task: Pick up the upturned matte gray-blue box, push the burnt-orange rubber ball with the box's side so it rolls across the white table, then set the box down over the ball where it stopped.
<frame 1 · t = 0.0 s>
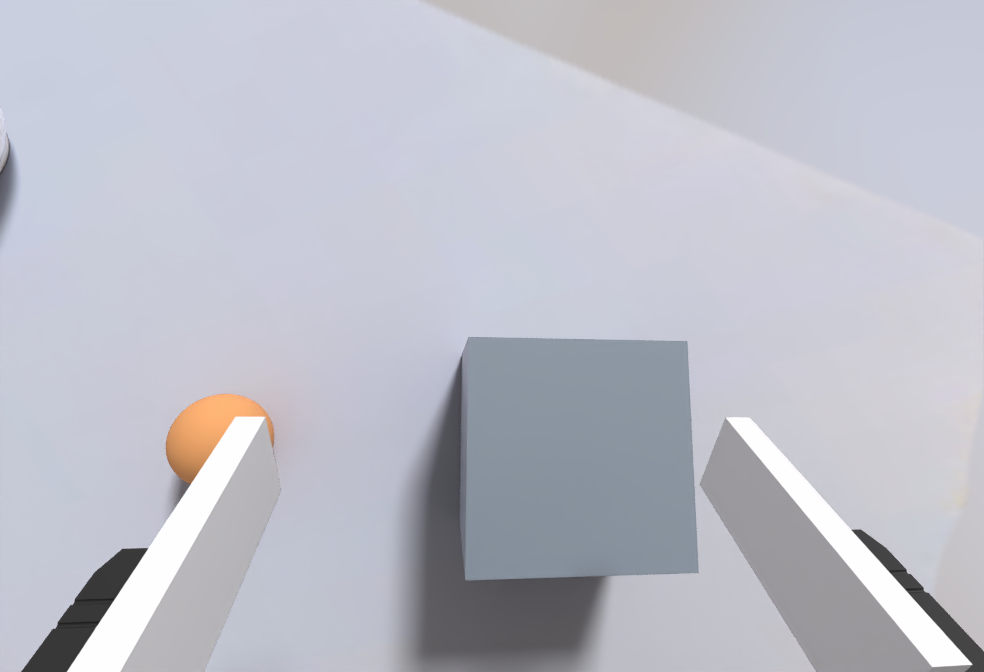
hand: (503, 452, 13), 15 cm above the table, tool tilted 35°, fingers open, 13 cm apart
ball: (222, 440, 24), on the table
matte gray-blue box: (541, 435, 29), on the table
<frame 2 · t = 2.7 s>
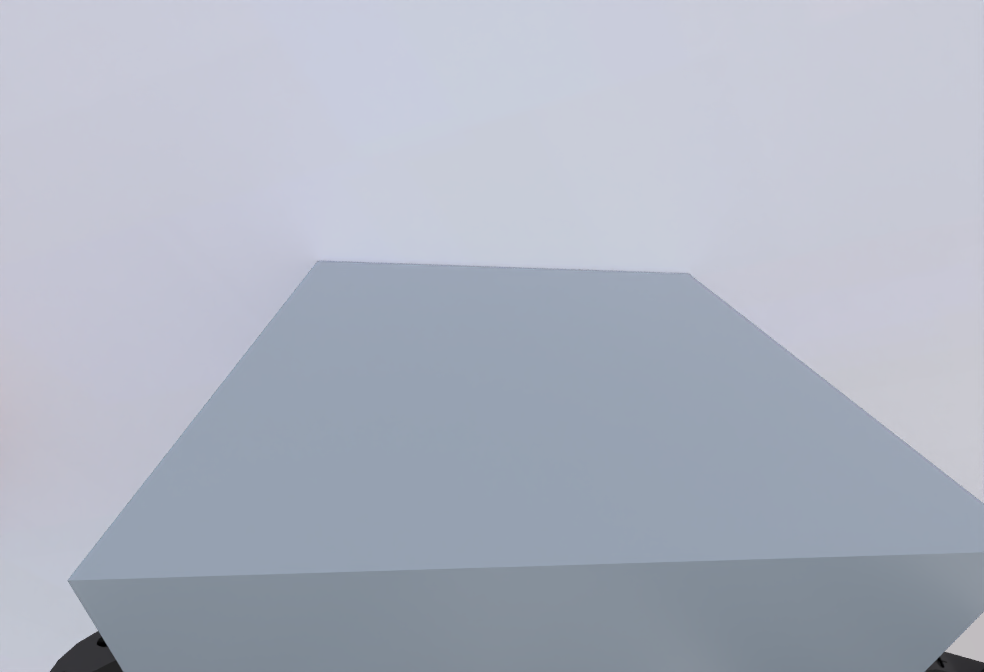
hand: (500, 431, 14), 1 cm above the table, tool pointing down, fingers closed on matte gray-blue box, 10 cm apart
matte gray-blue box: (497, 416, 15), on the table, touching gripper
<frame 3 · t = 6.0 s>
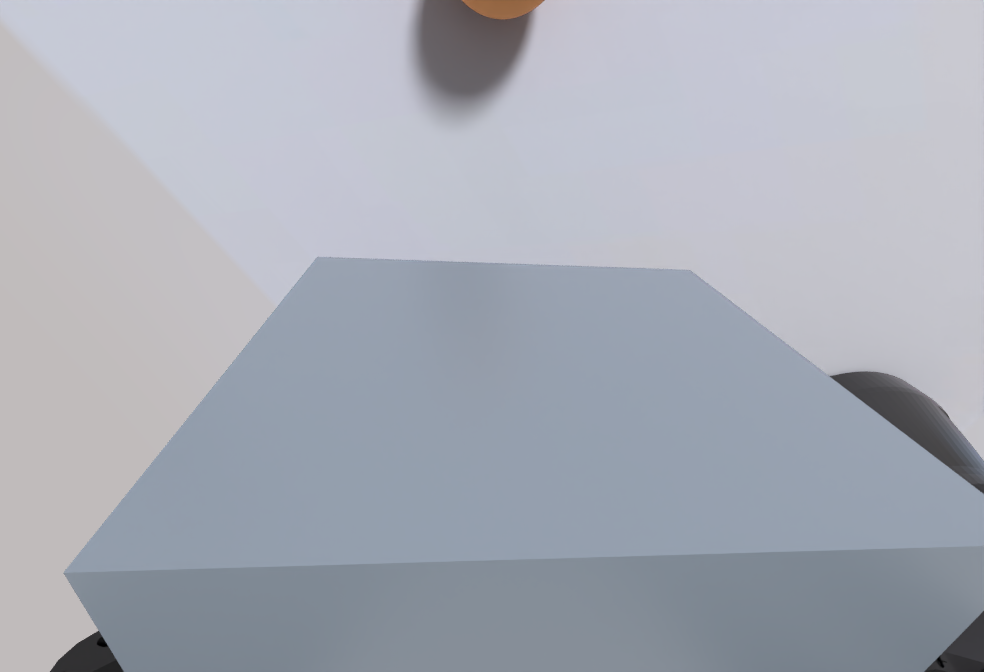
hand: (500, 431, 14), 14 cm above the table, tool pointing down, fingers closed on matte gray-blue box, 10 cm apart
matte gray-blue box: (498, 413, 15), point 13 cm above the table, touching gripper
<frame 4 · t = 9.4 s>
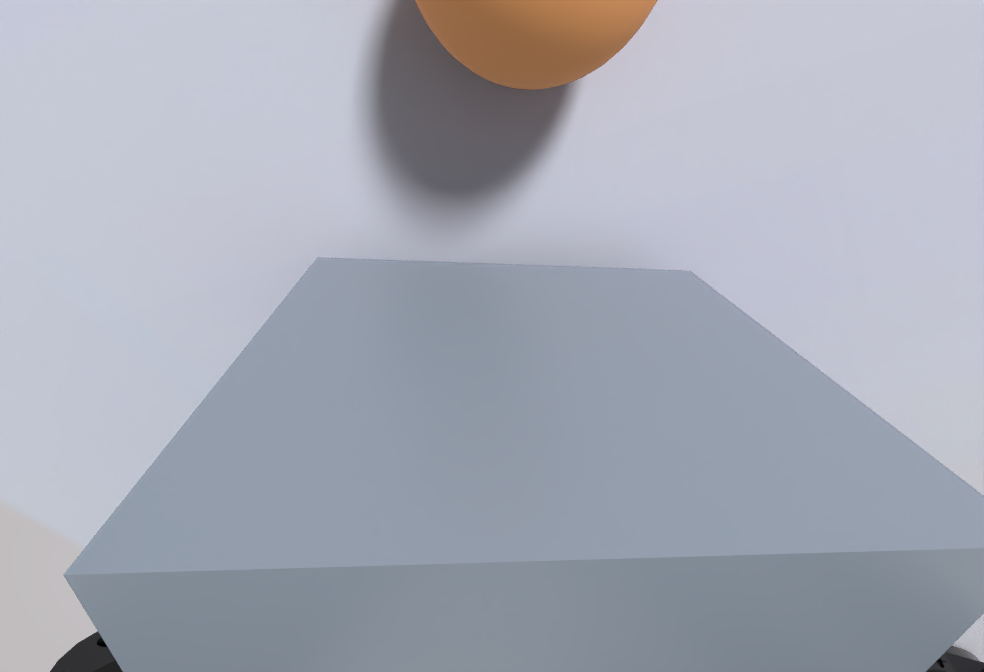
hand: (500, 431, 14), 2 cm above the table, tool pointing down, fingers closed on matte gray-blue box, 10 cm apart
matte gray-blue box: (498, 413, 15), point 1 cm above the table, touching gripper
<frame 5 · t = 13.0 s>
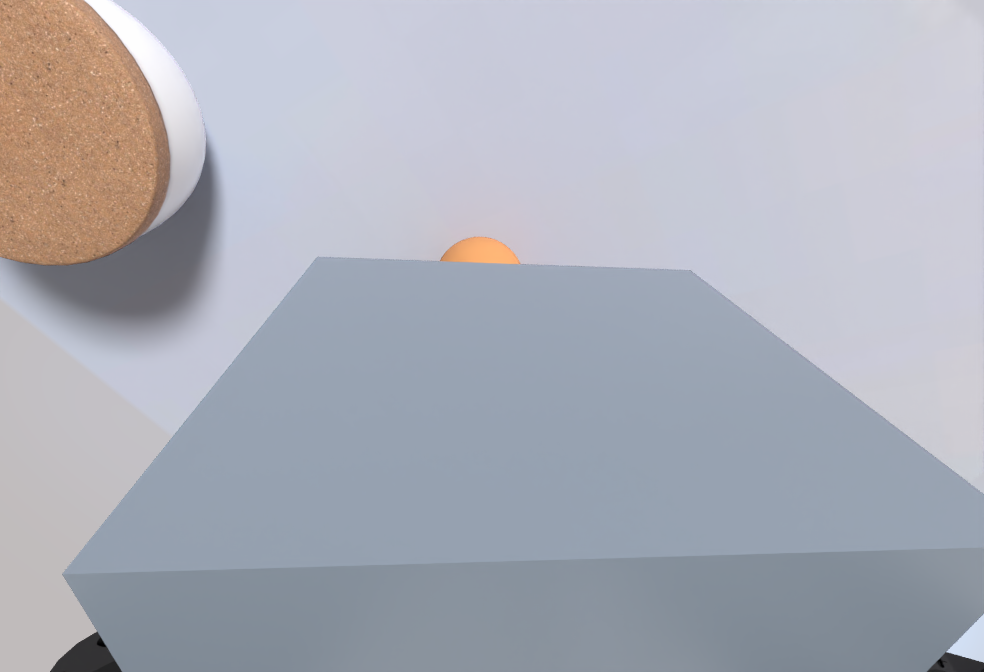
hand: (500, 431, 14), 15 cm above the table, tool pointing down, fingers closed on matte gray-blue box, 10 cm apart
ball: (479, 282, 25), on the table
lidded jar: (130, 112, 23), on the table
matte gray-blue box: (498, 413, 15), point 15 cm above the table, touching gripper
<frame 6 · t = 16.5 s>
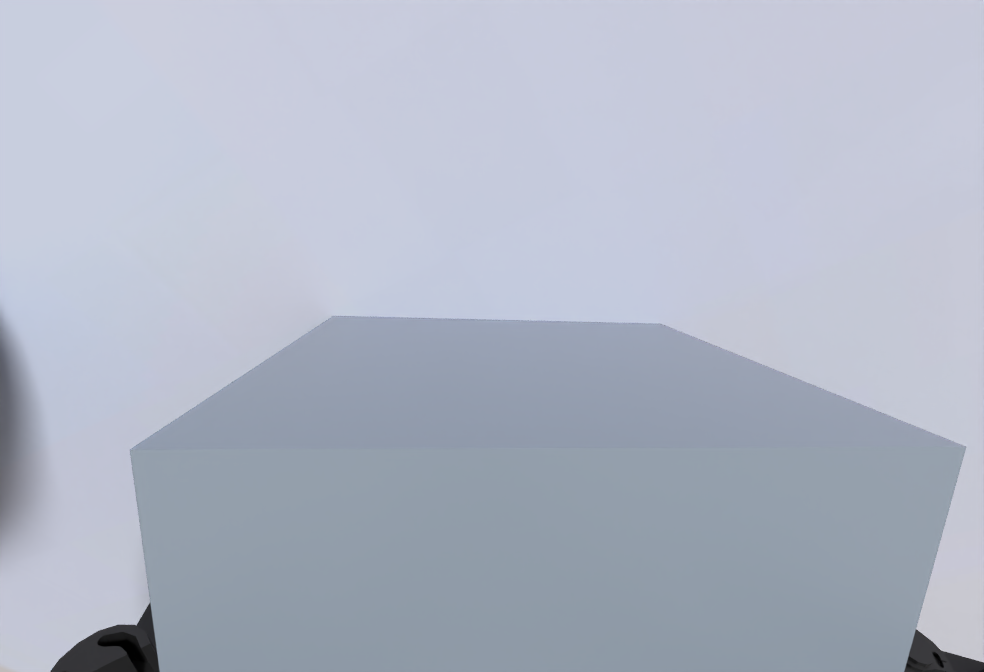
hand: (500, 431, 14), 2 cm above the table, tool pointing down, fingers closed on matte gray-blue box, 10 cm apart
matte gray-blue box: (495, 471, 15), point 1 cm above the table, tilted 16°, touching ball, gripper
when the fingers open (2 cm above the table, at t = 16.9 s): matte gray-blue box drops 1 cm, on the table.
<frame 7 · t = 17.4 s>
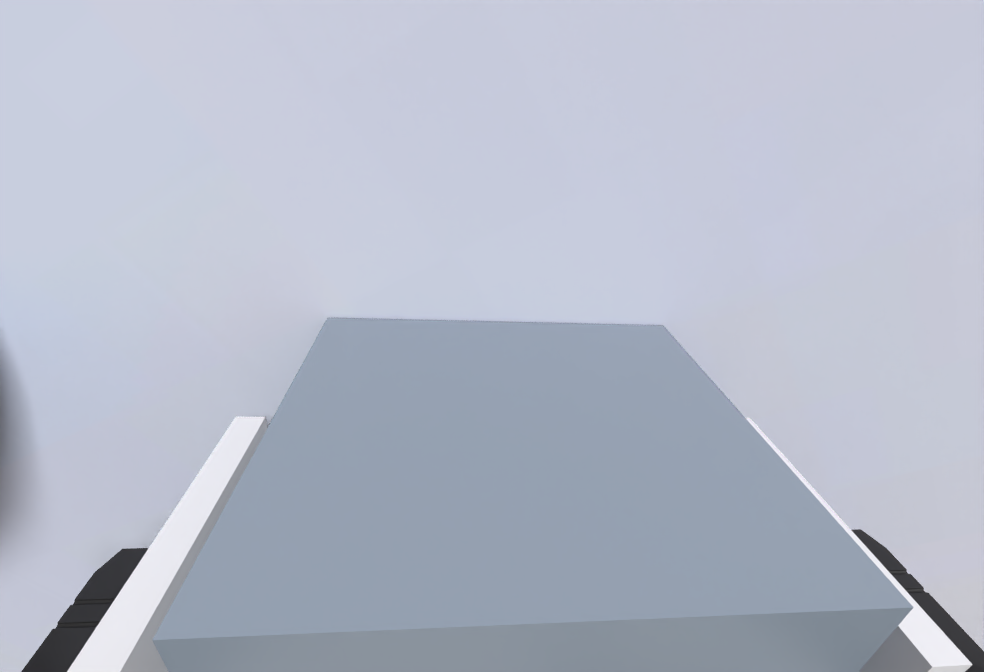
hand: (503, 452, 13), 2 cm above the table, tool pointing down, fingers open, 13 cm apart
matte gray-blue box: (490, 449, 16), on the table
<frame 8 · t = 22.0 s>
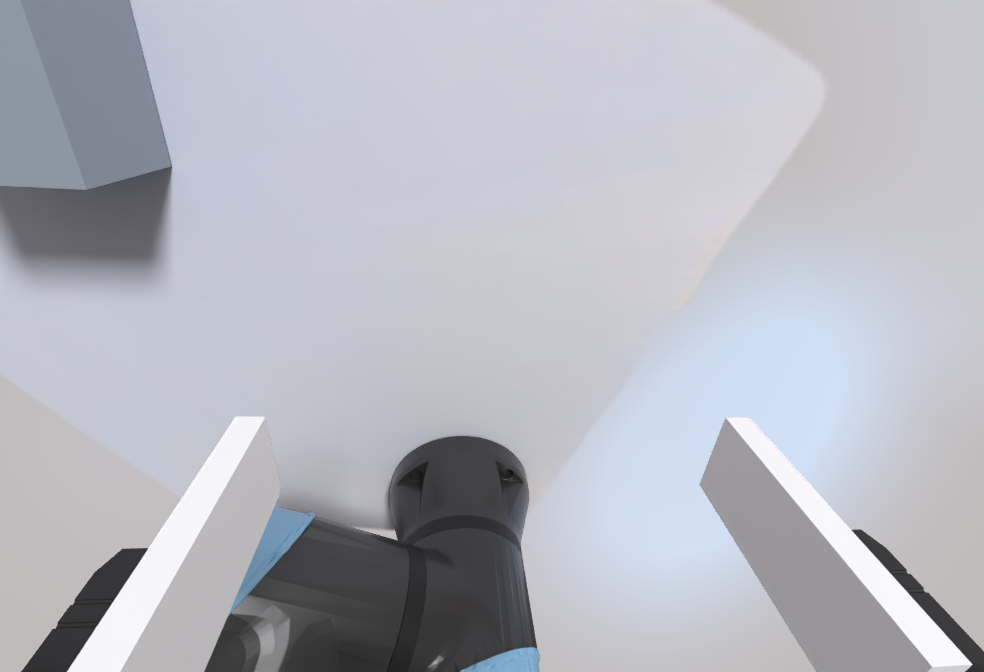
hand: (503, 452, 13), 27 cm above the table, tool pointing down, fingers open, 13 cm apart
matte gray-blue box: (69, 81, 30), on the table
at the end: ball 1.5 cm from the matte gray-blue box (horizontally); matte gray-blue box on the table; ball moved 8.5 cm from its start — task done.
